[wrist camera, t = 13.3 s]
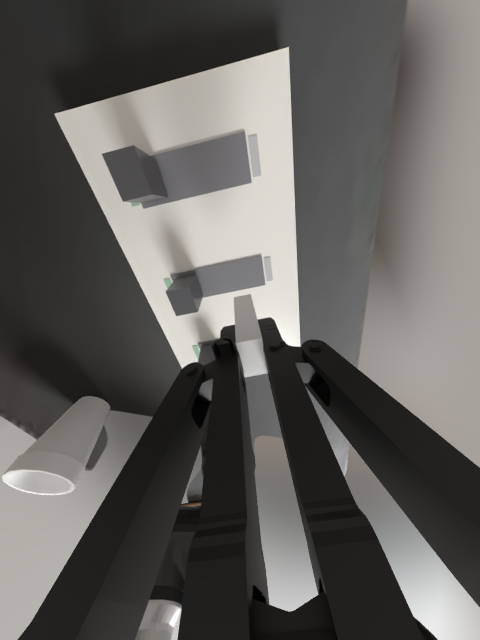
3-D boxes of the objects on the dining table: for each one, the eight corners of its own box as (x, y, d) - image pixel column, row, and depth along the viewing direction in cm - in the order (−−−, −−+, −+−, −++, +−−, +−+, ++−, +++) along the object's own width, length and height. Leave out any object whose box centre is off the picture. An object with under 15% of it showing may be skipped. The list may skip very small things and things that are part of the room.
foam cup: (87, 384, 36) (22, 463, 25) (127, 407, 40) (87, 484, 29) (60, 403, 39) (-10, 482, 28) (100, 423, 43) (54, 499, 32)
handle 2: (221, 357, 30) (220, 379, 26) (206, 360, 30) (203, 382, 26) (217, 343, 28) (214, 364, 25) (201, 346, 29) (196, 367, 25)
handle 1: (168, 197, 19) (152, 194, 15) (144, 203, 19) (122, 201, 15) (155, 159, 17) (133, 145, 13) (130, 166, 17) (101, 153, 14)
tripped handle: (203, 295, 24) (197, 312, 20) (184, 299, 25) (176, 316, 21) (195, 273, 23) (188, 286, 19) (176, 277, 23) (165, 291, 19)
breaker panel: (296, 352, 34) (301, 362, 32) (191, 370, 35) (188, 382, 33) (281, 67, 17) (289, 45, 14) (75, 125, 18) (52, 112, 16)
